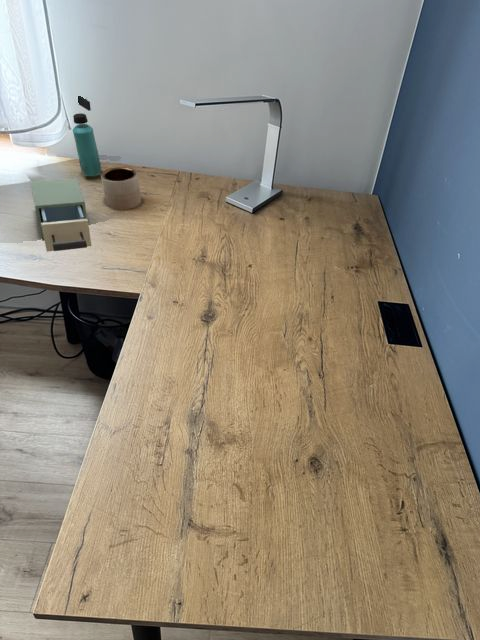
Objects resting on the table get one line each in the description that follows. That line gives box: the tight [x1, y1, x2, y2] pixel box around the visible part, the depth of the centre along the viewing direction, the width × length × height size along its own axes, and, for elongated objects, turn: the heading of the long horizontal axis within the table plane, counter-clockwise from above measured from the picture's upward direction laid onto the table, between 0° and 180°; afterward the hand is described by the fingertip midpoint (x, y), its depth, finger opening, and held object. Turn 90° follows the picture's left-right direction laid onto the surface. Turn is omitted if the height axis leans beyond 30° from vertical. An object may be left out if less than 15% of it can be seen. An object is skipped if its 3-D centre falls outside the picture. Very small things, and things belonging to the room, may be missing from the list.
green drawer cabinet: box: [29, 177, 88, 242], centre depth 142 cm, size 15×13×11 cm
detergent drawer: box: [41, 205, 92, 253], centre depth 134 cm, size 20×11×9 cm, turn 23°
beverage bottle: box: [72, 112, 102, 177], centre depth 163 cm, size 6×7×20 cm
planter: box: [100, 166, 142, 210], centre depth 155 cm, size 11×11×10 cm
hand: (70, 109), depth 162 cm, fingers open, 13 cm apart
